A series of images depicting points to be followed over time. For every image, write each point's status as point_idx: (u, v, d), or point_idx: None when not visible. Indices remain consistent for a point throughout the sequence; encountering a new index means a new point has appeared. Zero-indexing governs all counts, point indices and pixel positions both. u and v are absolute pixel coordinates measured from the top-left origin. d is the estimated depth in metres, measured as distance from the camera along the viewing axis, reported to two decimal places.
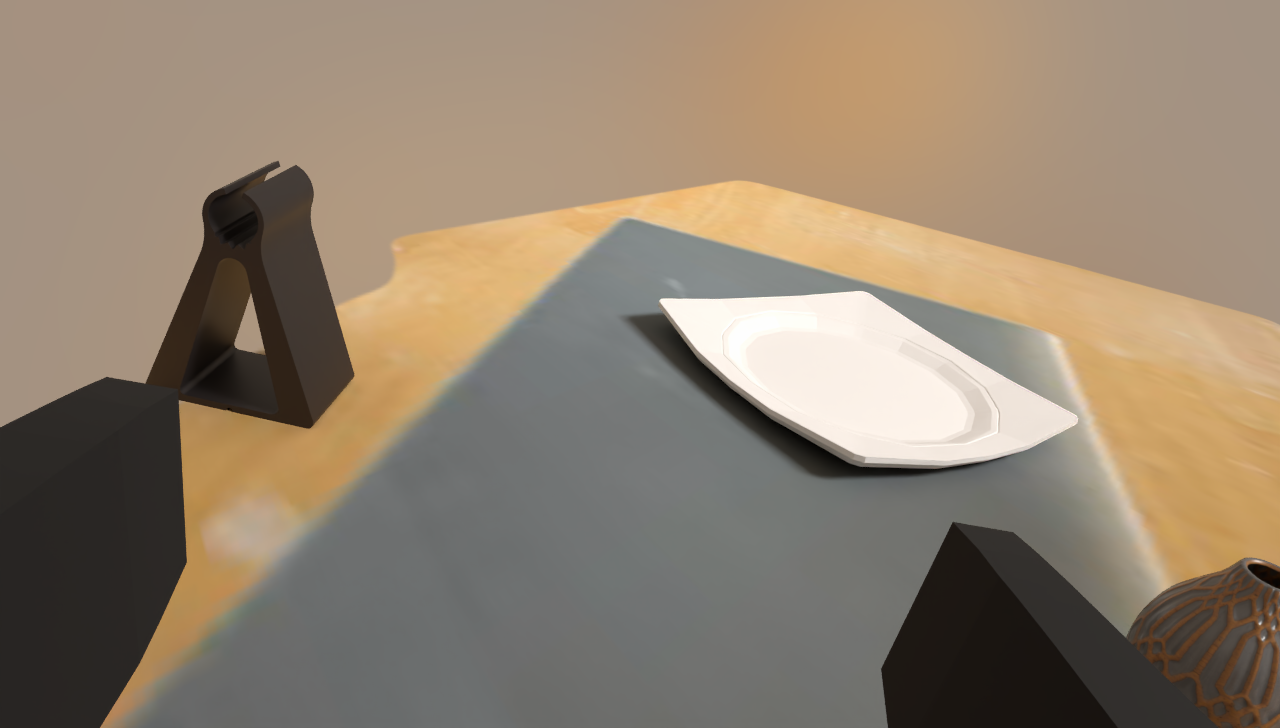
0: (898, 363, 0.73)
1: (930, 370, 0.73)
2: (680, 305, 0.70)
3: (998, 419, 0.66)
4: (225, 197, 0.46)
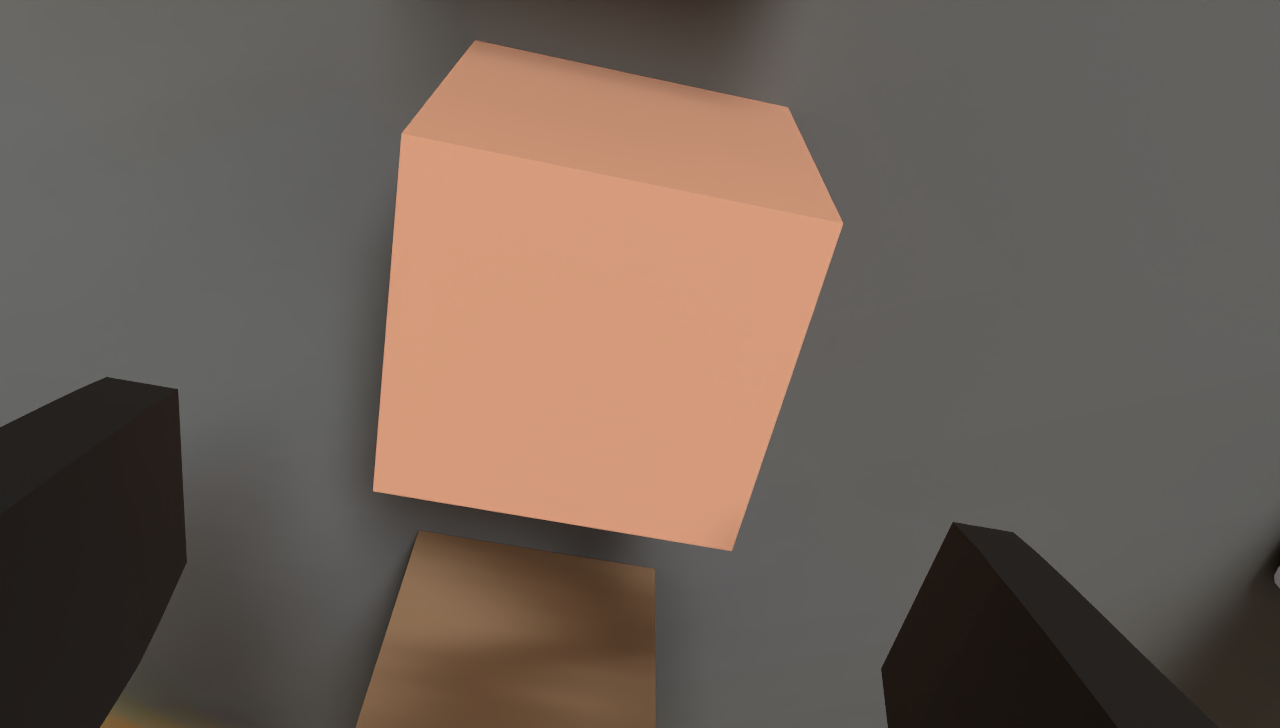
0: None
1: None
2: None
3: None
4: None
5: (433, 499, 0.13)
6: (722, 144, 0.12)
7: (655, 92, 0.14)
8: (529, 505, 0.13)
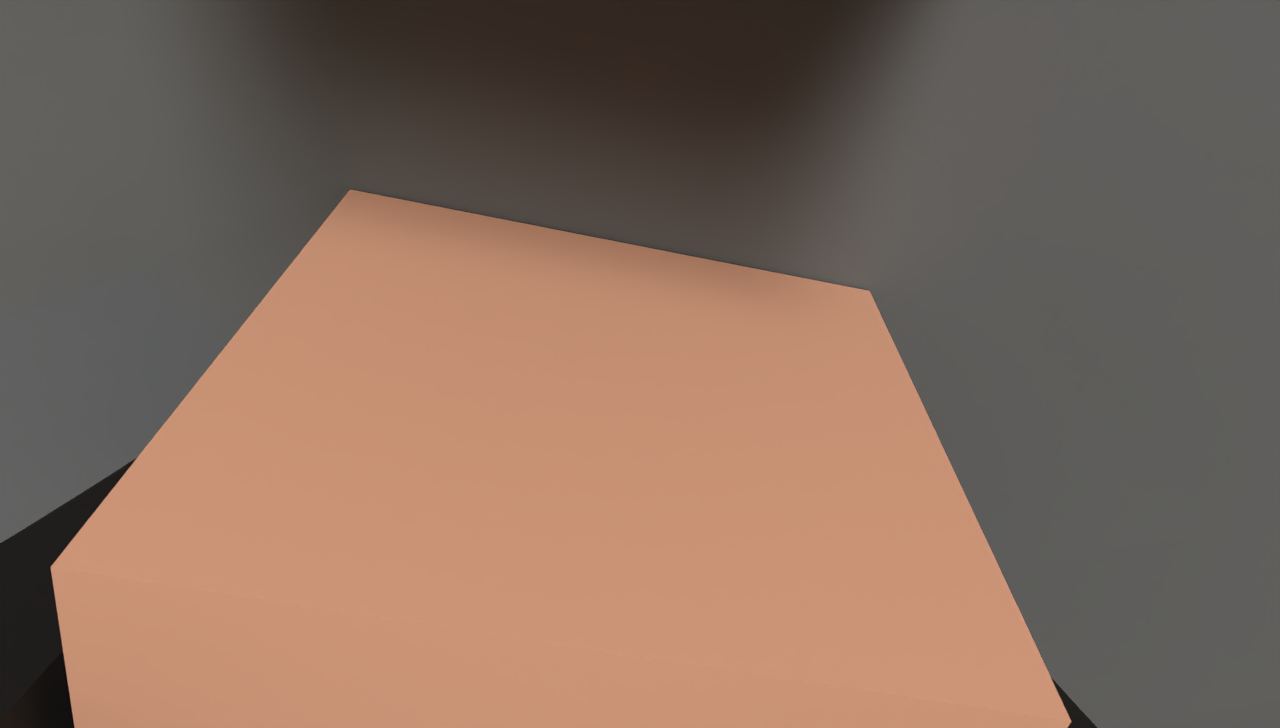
0: None
1: None
2: None
3: None
4: None
5: None
6: (780, 440, 0.06)
7: (652, 291, 0.08)
8: None
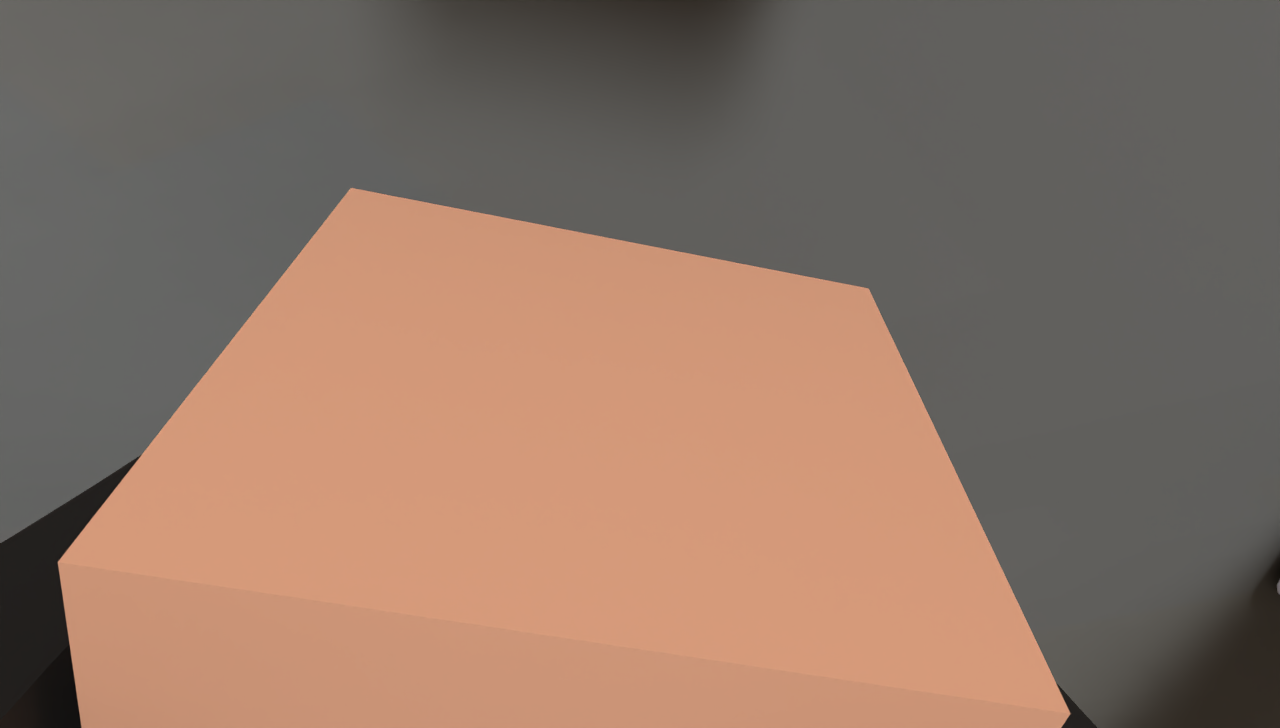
0: None
1: None
2: None
3: None
4: None
5: None
6: (782, 437, 0.06)
7: (652, 289, 0.08)
8: None
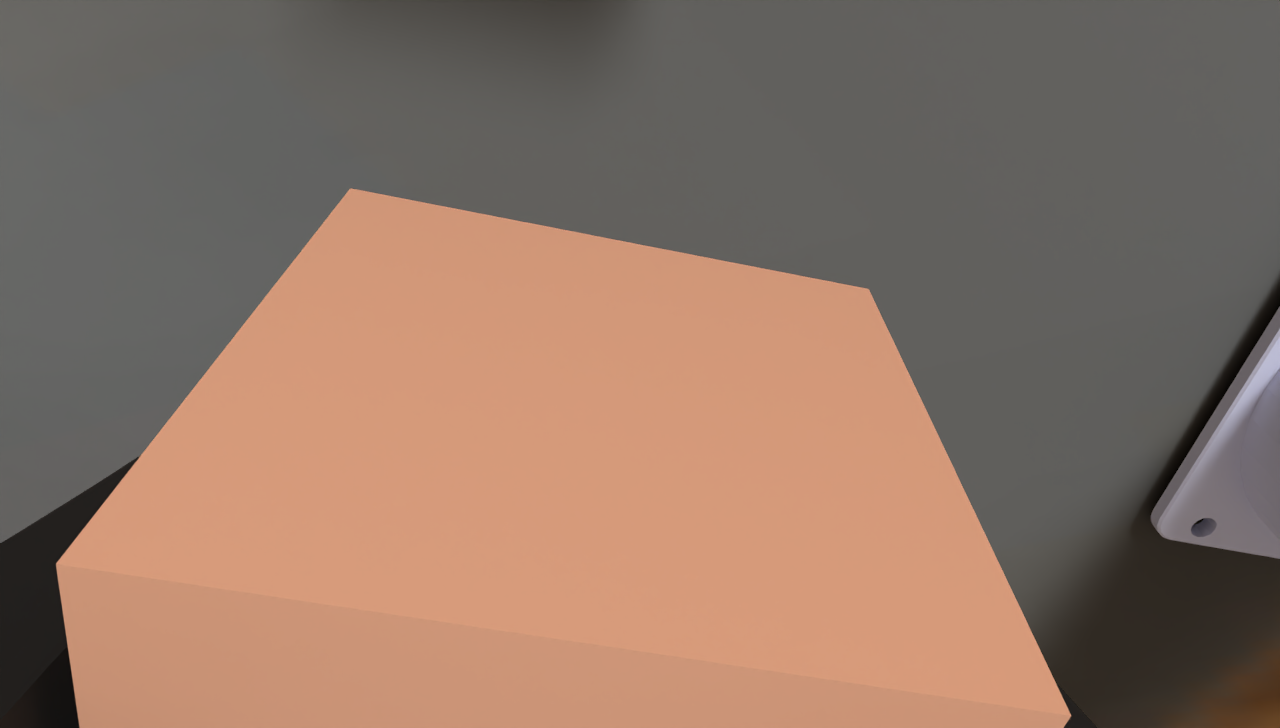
0: None
1: None
2: None
3: None
4: None
5: None
6: (781, 438, 0.06)
7: (652, 289, 0.08)
8: None
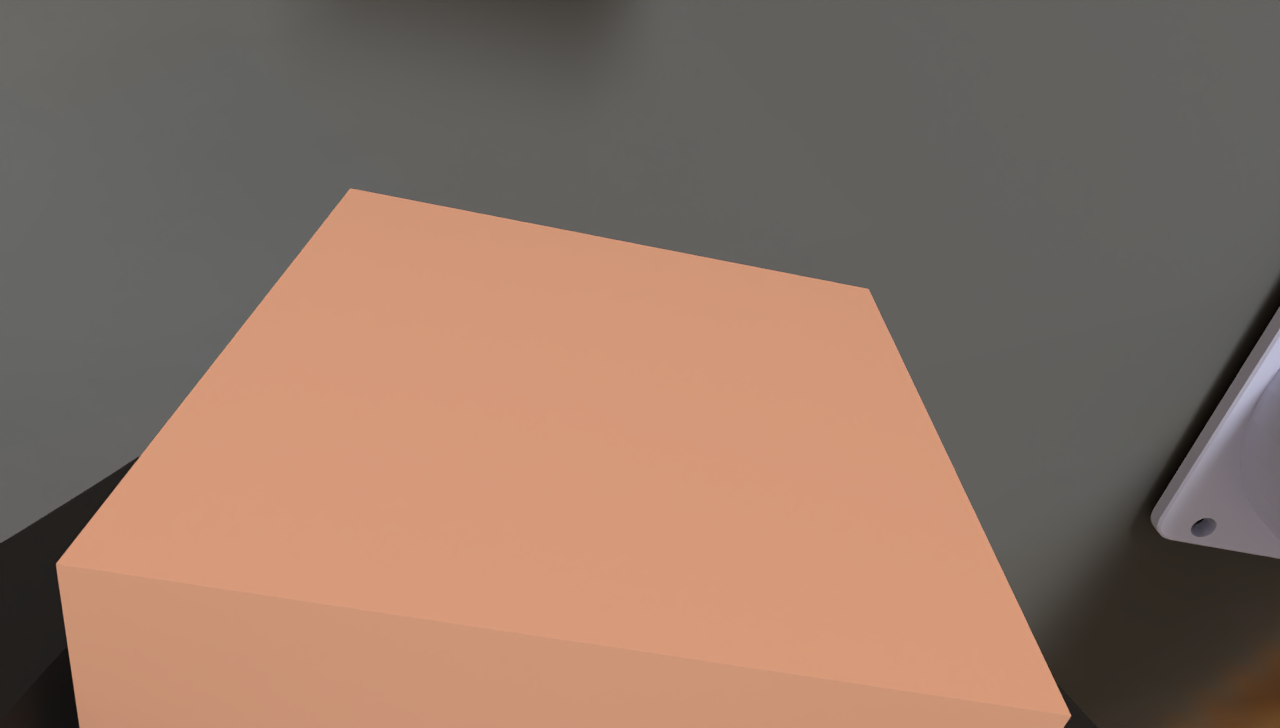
0: None
1: None
2: None
3: None
4: None
5: None
6: (781, 438, 0.06)
7: (652, 289, 0.08)
8: None
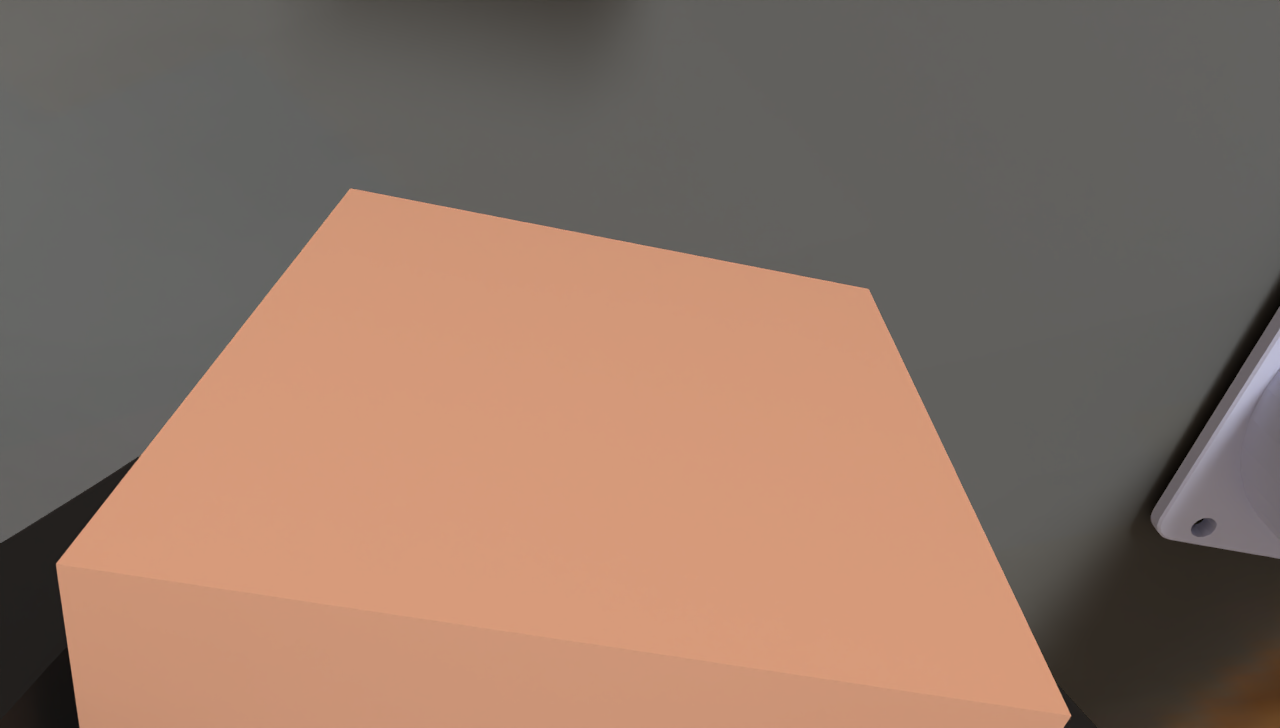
0: None
1: None
2: None
3: None
4: None
5: None
6: (781, 438, 0.06)
7: (652, 289, 0.08)
8: None
